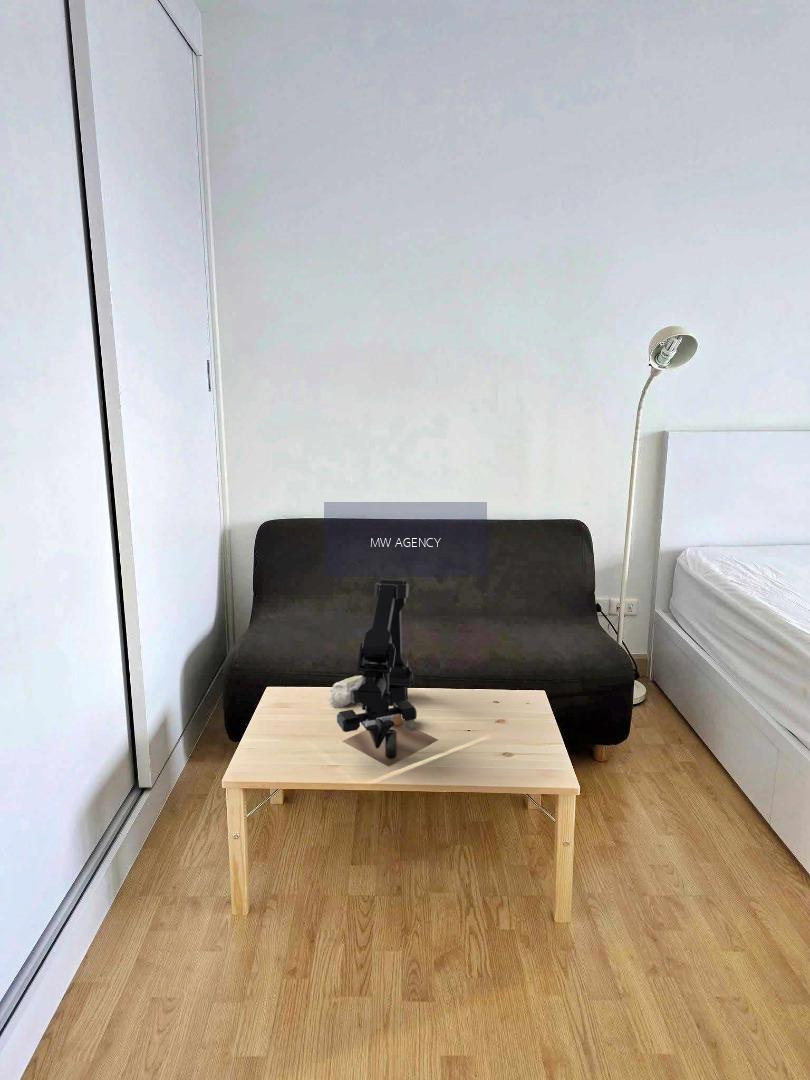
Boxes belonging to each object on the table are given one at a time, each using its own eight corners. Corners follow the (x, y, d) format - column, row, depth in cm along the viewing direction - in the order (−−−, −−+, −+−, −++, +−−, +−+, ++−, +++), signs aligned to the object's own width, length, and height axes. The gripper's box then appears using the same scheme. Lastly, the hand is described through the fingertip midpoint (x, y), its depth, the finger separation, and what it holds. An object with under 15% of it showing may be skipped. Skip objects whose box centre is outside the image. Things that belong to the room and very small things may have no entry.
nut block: (393, 718, 199) (393, 706, 198) (401, 723, 196) (401, 711, 195) (383, 722, 197) (383, 710, 196) (390, 727, 194) (390, 715, 193)
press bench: (398, 717, 202) (398, 702, 200) (444, 739, 190) (445, 723, 189) (342, 744, 187) (342, 728, 186) (388, 770, 176) (388, 753, 175)
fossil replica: (321, 710, 206) (354, 718, 203) (321, 684, 203) (355, 692, 200) (338, 689, 217) (370, 697, 214) (339, 664, 214) (371, 672, 211)
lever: (381, 723, 195) (381, 702, 194) (399, 757, 179) (399, 734, 178) (368, 725, 194) (368, 704, 193) (385, 759, 178) (385, 736, 177)
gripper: (400, 670, 186) (399, 726, 189) (329, 681, 179) (330, 739, 182) (417, 687, 176) (417, 746, 179) (343, 699, 169) (344, 761, 172)
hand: (377, 747), depth 178 cm, fingers closed
